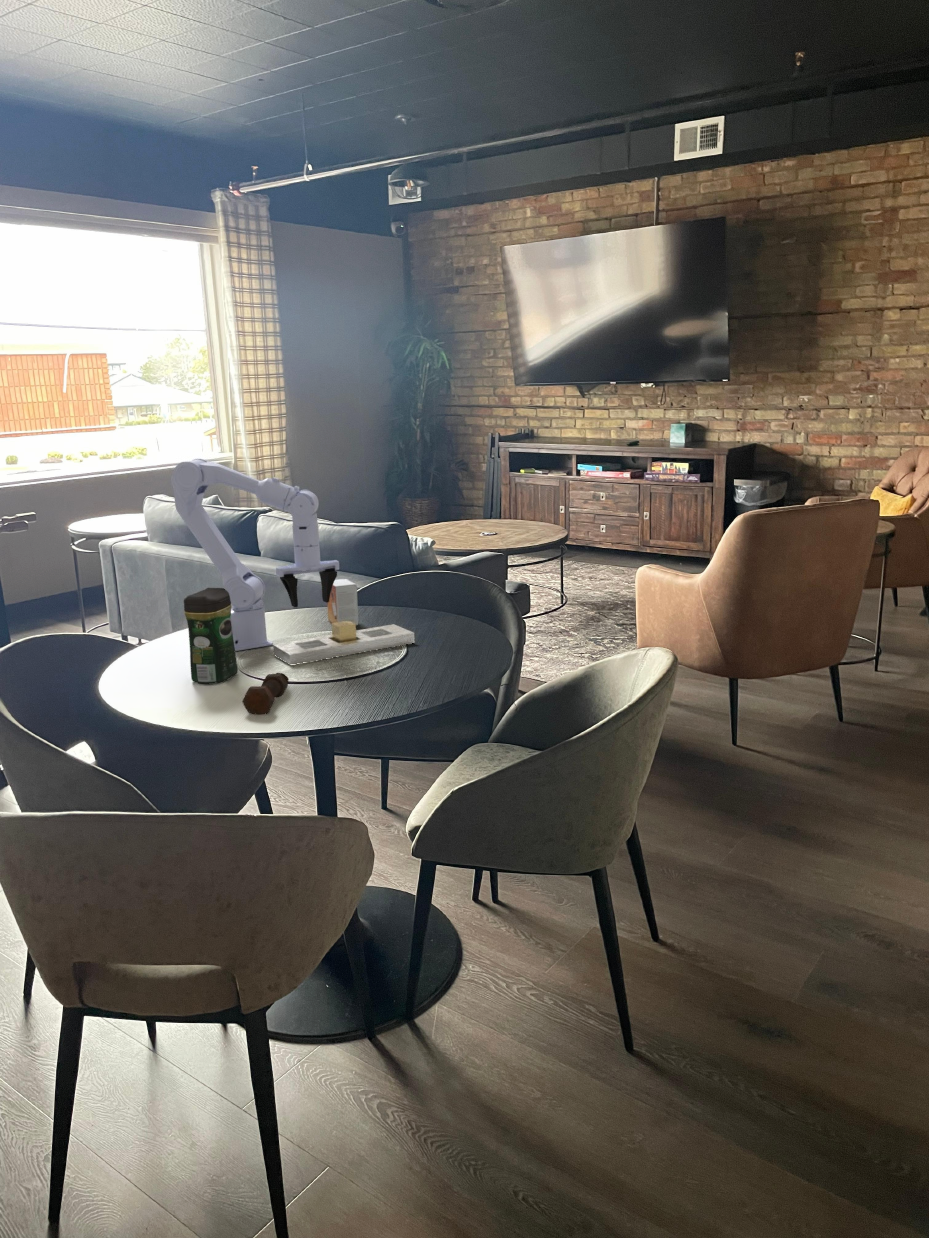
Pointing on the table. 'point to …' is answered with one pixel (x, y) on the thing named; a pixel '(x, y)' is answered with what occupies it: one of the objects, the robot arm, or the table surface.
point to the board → (343, 644)
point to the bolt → (265, 694)
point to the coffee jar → (210, 636)
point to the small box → (343, 602)
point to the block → (343, 631)
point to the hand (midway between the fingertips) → (310, 604)
